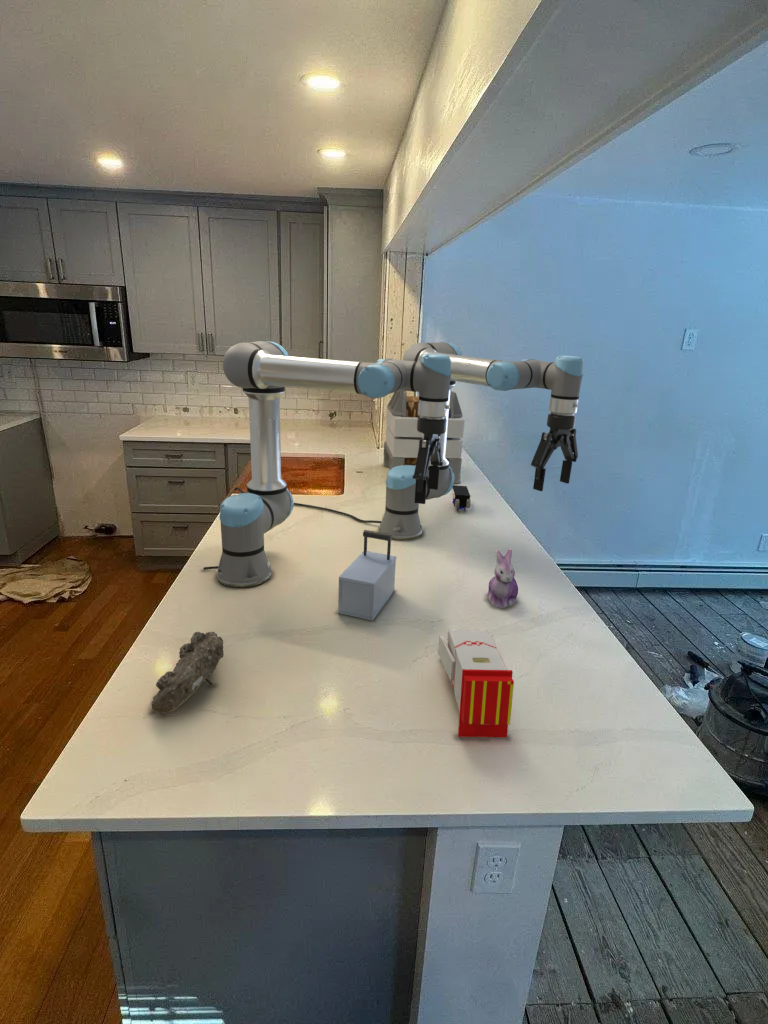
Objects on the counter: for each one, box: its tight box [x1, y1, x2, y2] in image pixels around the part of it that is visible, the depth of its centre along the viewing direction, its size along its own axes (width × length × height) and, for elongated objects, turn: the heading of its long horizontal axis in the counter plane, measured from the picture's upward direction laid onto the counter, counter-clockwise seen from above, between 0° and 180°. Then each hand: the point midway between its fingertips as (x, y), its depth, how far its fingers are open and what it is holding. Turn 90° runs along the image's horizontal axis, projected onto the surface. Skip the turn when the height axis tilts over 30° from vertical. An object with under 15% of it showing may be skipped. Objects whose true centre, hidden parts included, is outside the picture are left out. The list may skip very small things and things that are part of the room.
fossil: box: [151, 631, 225, 714], centre depth 116 cm, size 22×10×15 cm
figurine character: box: [451, 484, 472, 513], centre depth 228 cm, size 7×8×15 cm
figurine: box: [487, 548, 519, 609], centre depth 154 cm, size 9×10×15 cm
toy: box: [437, 628, 515, 738], centre depth 117 cm, size 12×13×30 cm
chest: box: [337, 559, 397, 621], centre depth 151 cm, size 18×10×10 cm, turn 161°
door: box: [338, 529, 397, 586], centre depth 149 cm, size 18×10×8 cm, turn 161°
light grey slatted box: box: [383, 389, 465, 484], centre depth 268 cm, size 34×33×41 cm
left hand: (426, 495), depth 152 cm, fingers open, 13 cm apart
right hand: (551, 486), depth 165 cm, fingers open, 13 cm apart
